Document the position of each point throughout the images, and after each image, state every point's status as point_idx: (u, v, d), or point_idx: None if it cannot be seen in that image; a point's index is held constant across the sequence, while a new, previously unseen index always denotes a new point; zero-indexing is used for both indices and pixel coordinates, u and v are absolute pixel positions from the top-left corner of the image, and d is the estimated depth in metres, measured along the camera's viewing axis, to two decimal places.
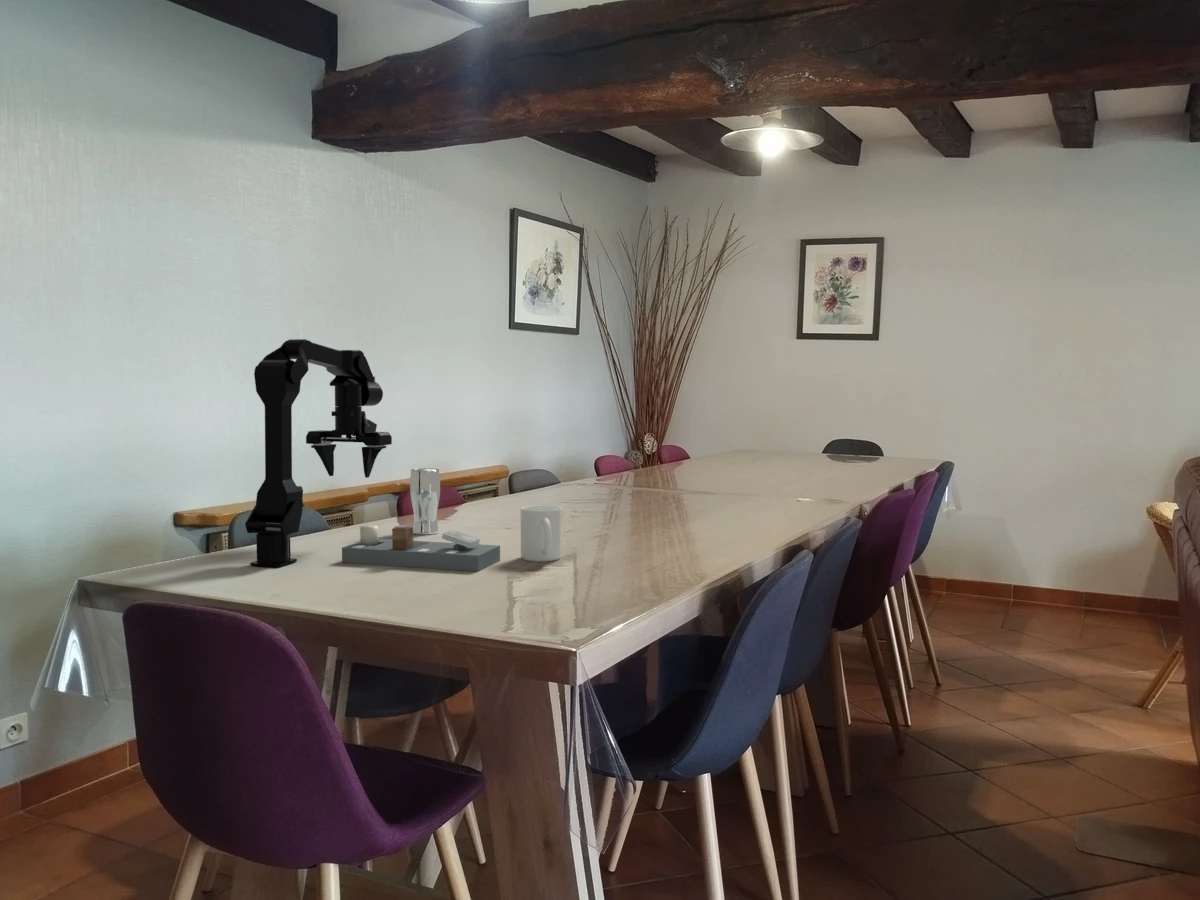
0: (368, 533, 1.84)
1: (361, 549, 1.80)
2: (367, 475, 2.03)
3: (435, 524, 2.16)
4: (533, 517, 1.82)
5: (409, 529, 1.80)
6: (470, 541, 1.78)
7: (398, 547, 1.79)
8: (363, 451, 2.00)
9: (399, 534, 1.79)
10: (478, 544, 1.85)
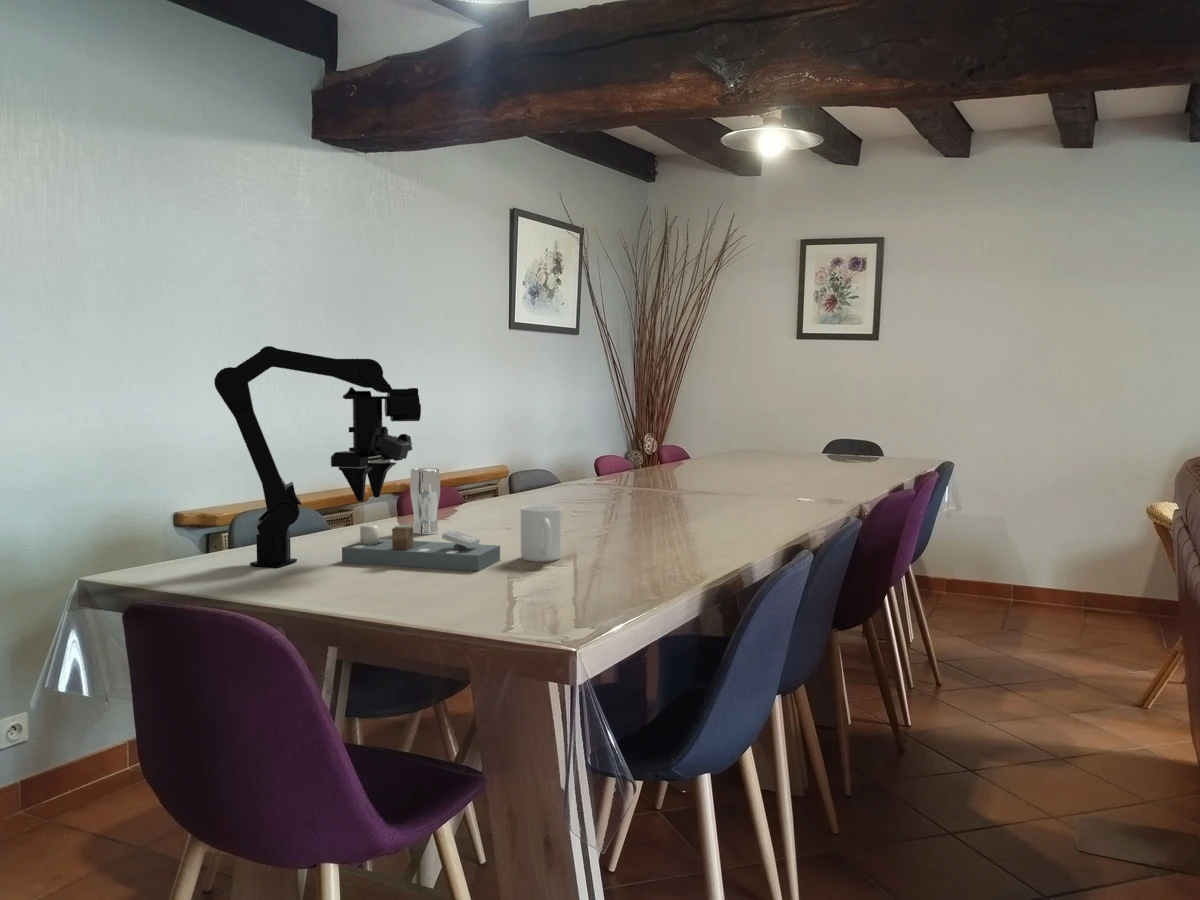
0: (368, 533, 1.84)
1: (361, 549, 1.80)
2: (358, 498, 1.82)
3: (435, 524, 2.16)
4: (533, 517, 1.82)
5: (409, 529, 1.80)
6: (470, 541, 1.78)
7: (398, 547, 1.79)
8: None
9: (399, 534, 1.79)
10: (478, 544, 1.85)
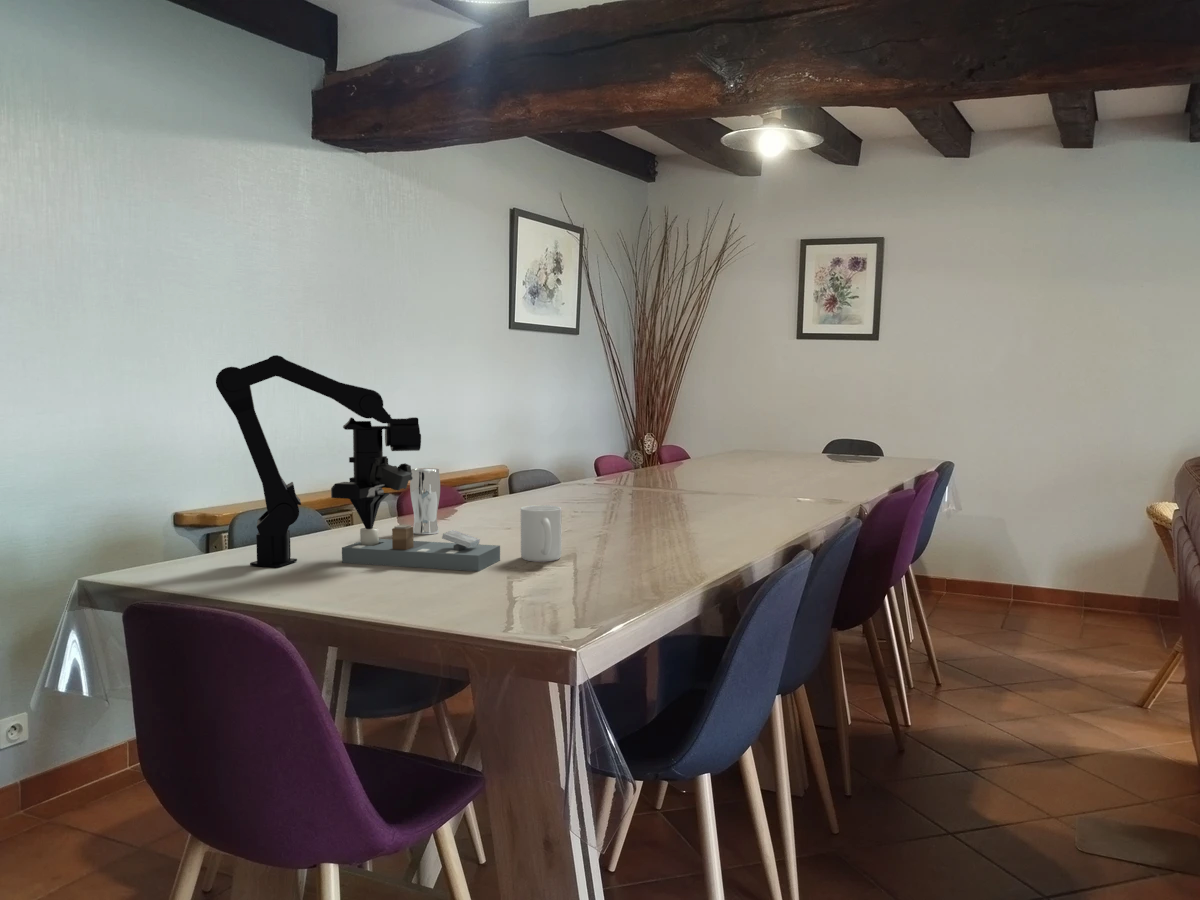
0: (368, 535, 1.84)
1: (361, 549, 1.80)
2: (366, 526, 1.85)
3: (435, 524, 2.16)
4: (533, 517, 1.82)
5: (409, 529, 1.80)
6: (470, 541, 1.78)
7: (398, 547, 1.79)
8: None
9: (399, 534, 1.79)
10: (478, 544, 1.85)
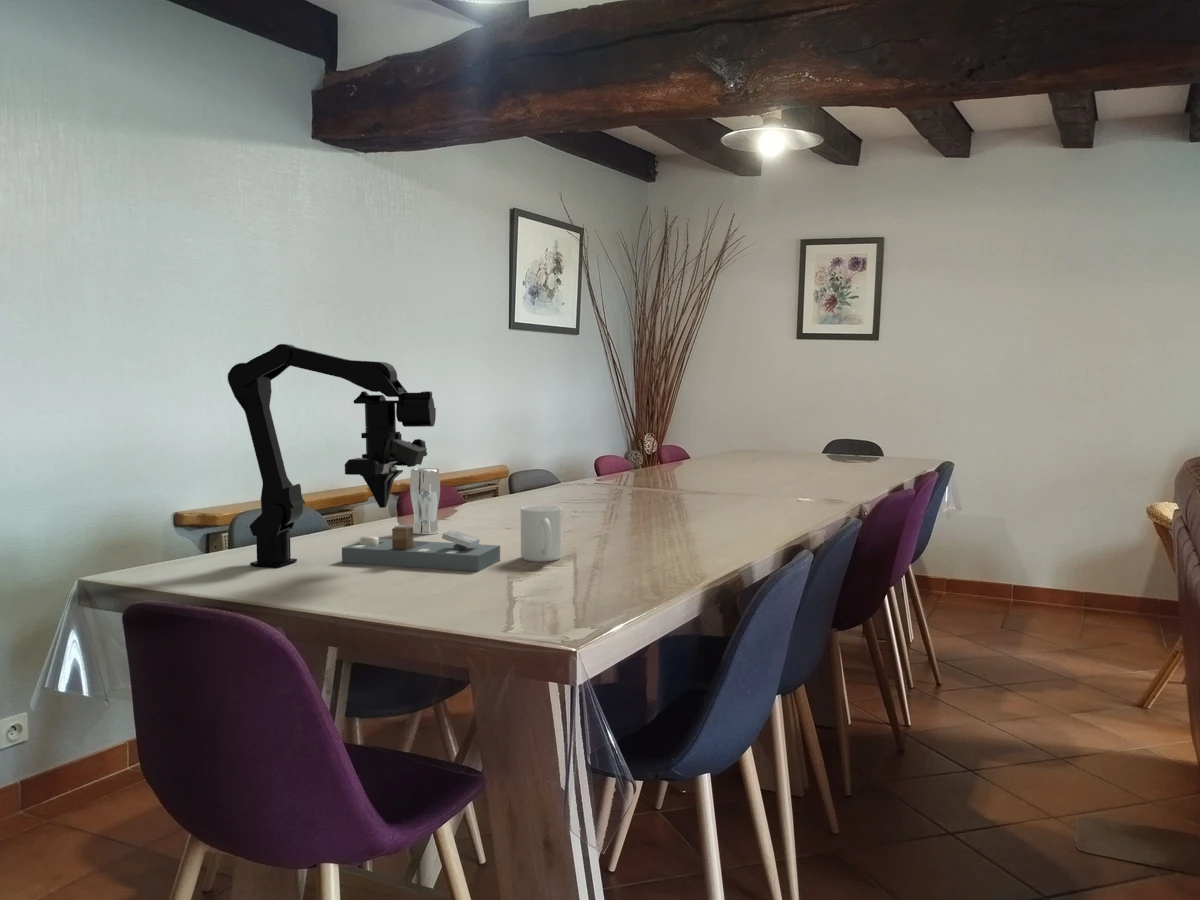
0: (368, 544, 1.84)
1: (361, 549, 1.80)
2: (379, 505, 1.78)
3: (435, 524, 2.16)
4: (533, 517, 1.82)
5: (409, 529, 1.80)
6: (470, 541, 1.78)
7: (398, 547, 1.79)
8: None
9: (399, 534, 1.79)
10: (478, 544, 1.85)
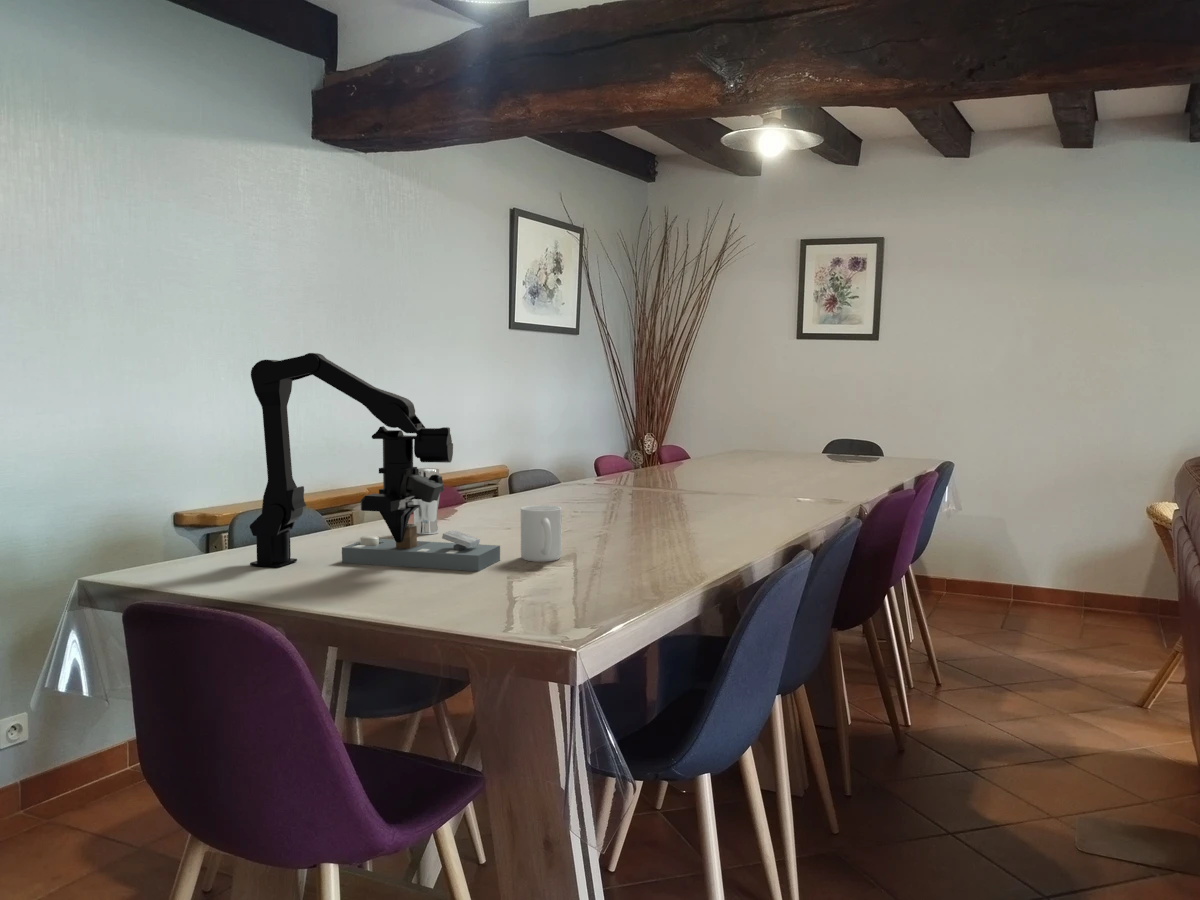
0: (368, 544, 1.84)
1: (361, 549, 1.80)
2: (396, 539, 1.78)
3: (435, 524, 2.16)
4: (533, 517, 1.82)
5: (412, 528, 1.81)
6: (470, 541, 1.78)
7: (402, 546, 1.80)
8: None
9: None
10: (478, 544, 1.85)
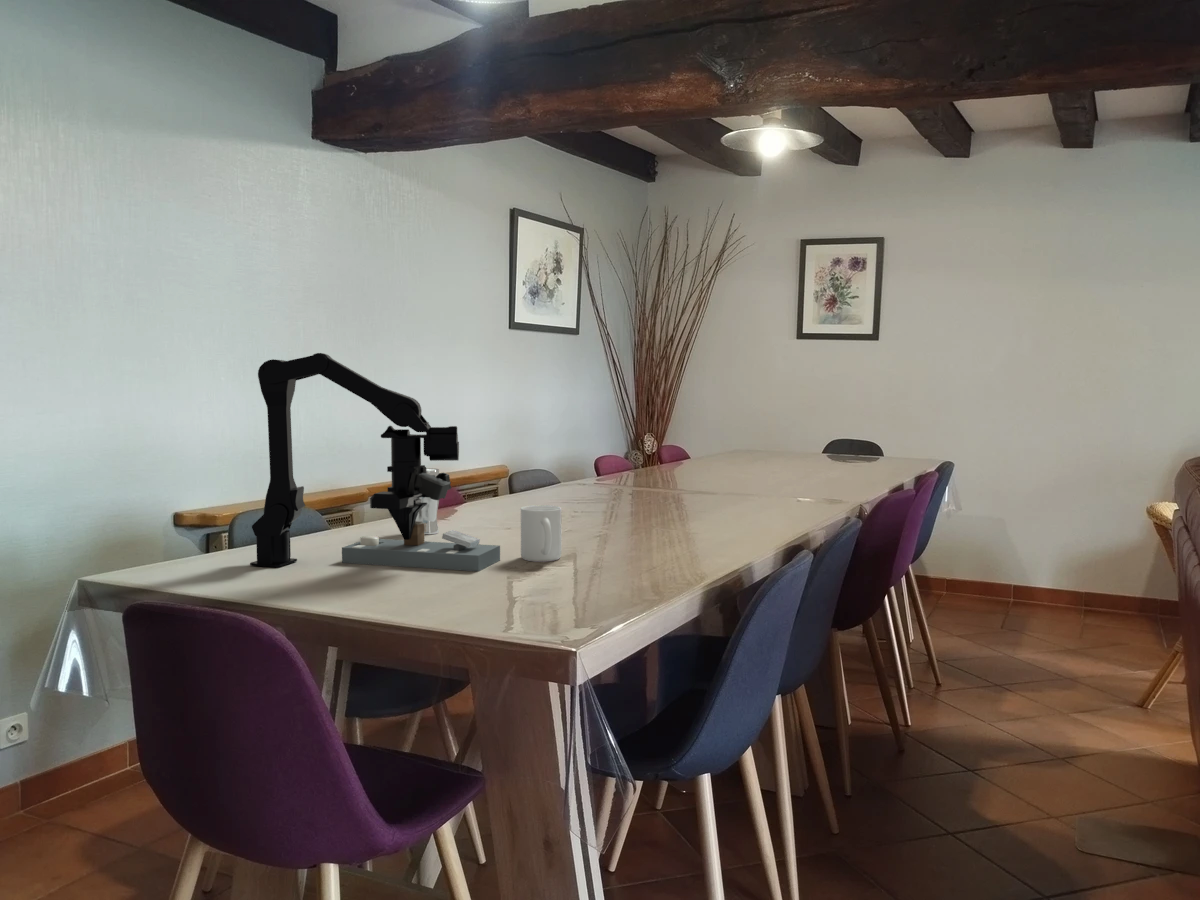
0: (368, 544, 1.84)
1: (361, 549, 1.80)
2: (404, 537, 1.82)
3: (435, 524, 2.16)
4: (533, 517, 1.82)
5: (420, 525, 1.84)
6: (470, 541, 1.78)
7: (409, 543, 1.84)
8: None
9: None
10: (478, 544, 1.85)
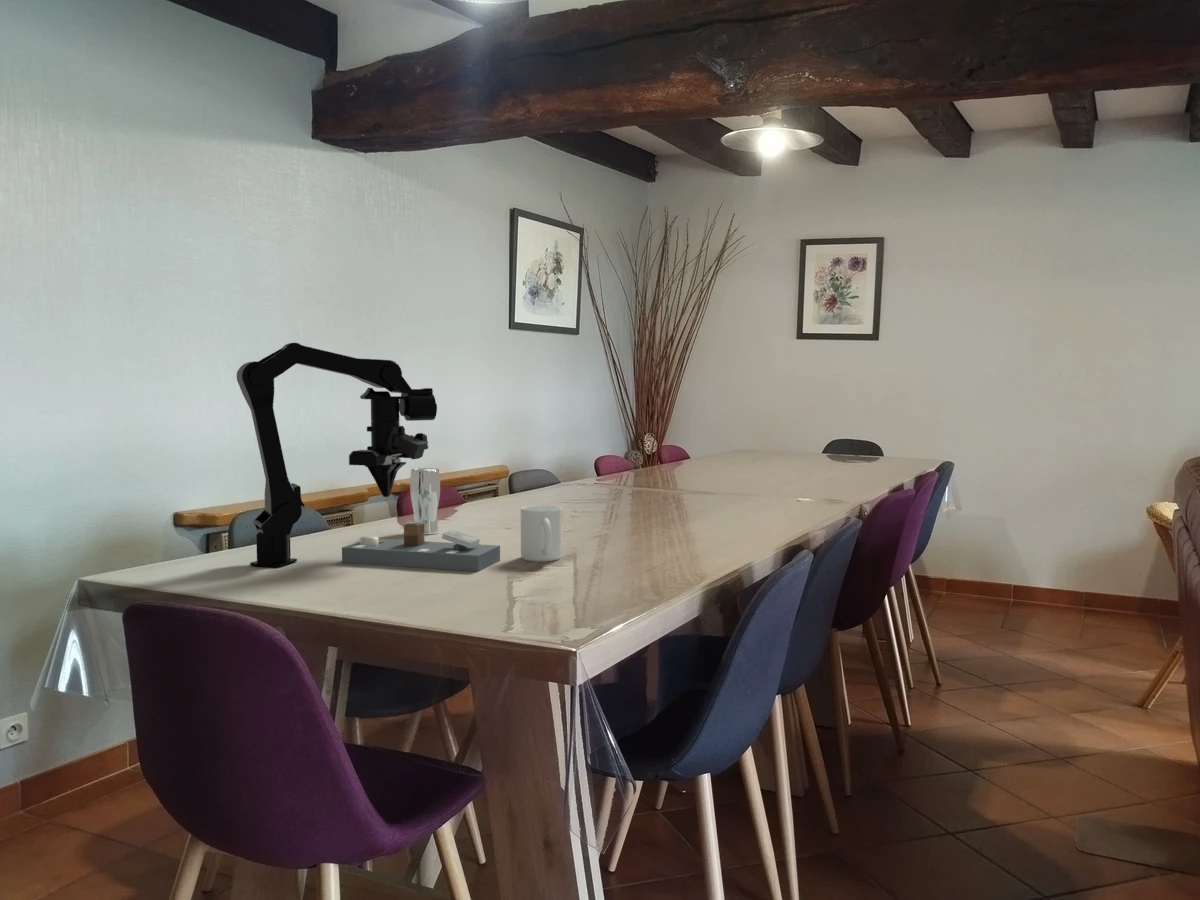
0: (368, 544, 1.84)
1: (361, 549, 1.80)
2: (383, 494, 1.90)
3: (435, 524, 2.16)
4: (533, 517, 1.82)
5: (420, 525, 1.84)
6: (470, 541, 1.78)
7: (409, 543, 1.84)
8: None
9: (411, 530, 1.83)
10: (478, 544, 1.85)
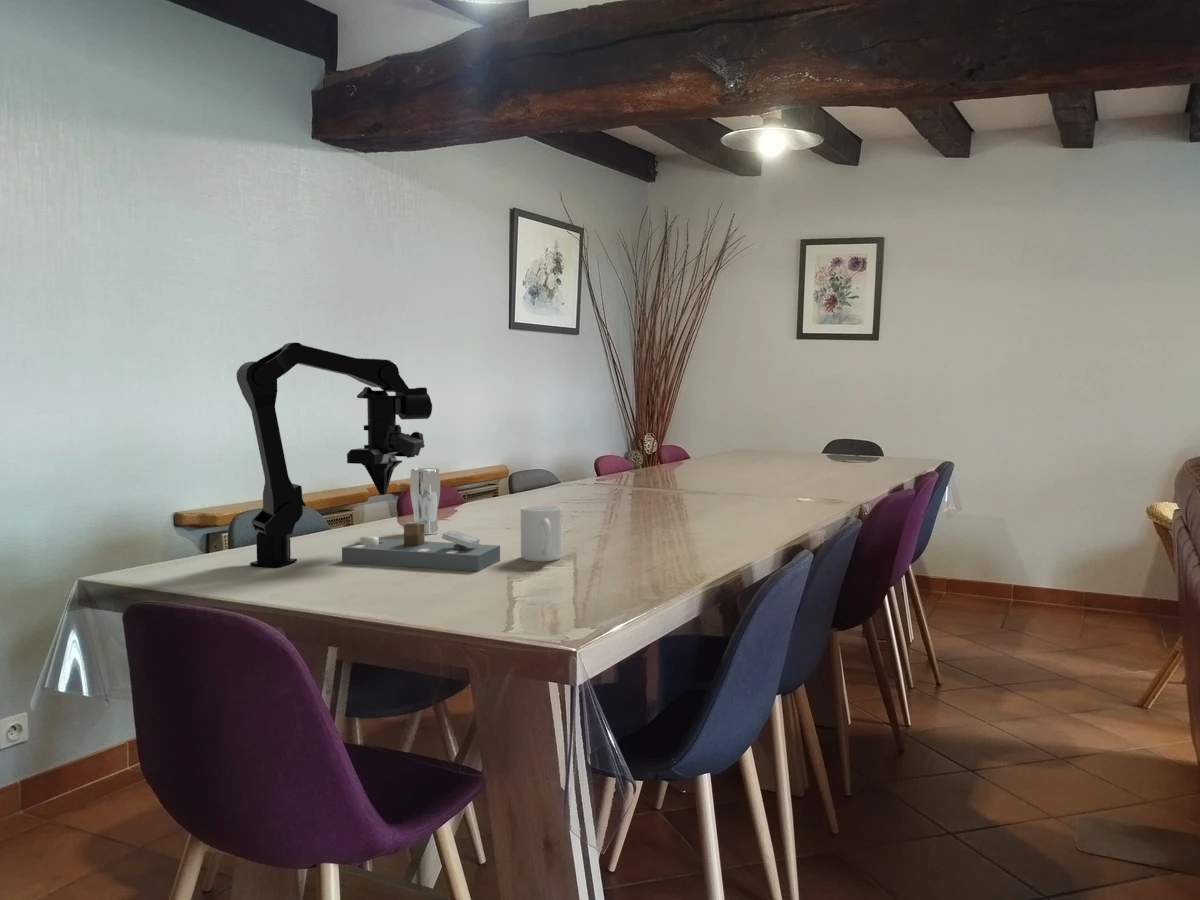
0: (368, 544, 1.84)
1: (361, 549, 1.80)
2: (379, 492, 1.92)
3: (435, 524, 2.16)
4: (533, 517, 1.82)
5: (420, 525, 1.84)
6: (470, 541, 1.78)
7: (409, 543, 1.84)
8: None
9: (411, 530, 1.83)
10: (478, 544, 1.85)
